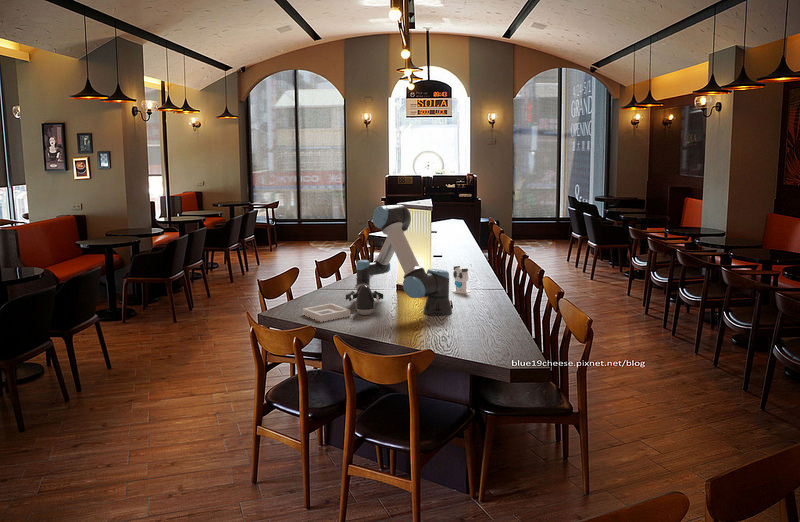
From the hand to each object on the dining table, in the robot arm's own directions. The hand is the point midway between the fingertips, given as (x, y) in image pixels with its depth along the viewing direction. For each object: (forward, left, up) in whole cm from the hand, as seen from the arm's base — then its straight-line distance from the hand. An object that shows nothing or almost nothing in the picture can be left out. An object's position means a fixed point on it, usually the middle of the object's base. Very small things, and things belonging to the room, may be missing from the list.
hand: (365, 300), depth 331 cm
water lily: (+60, -43, -8) cm, 74 cm away
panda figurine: (+8, -78, -8) cm, 79 cm away
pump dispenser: (+2, -1, -8) cm, 8 cm away
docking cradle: (+12, +17, -8) cm, 22 cm away
